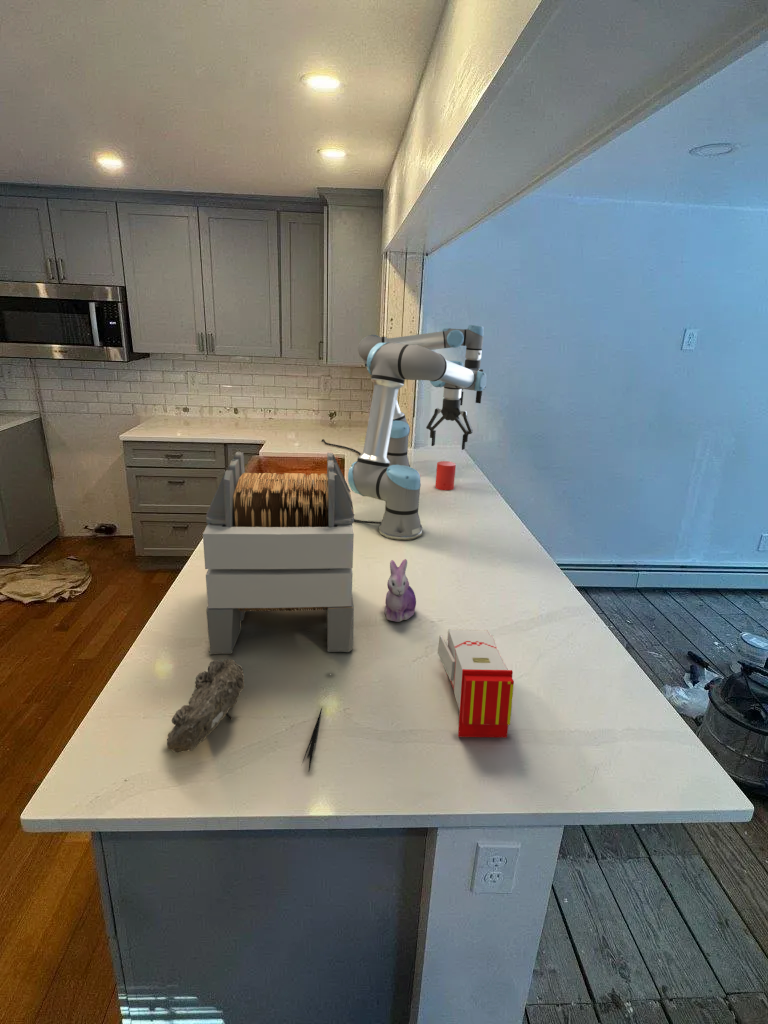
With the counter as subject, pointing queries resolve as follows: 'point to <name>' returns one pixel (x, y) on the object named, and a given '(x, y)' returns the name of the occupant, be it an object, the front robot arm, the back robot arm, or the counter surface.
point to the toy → (478, 682)
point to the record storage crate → (279, 550)
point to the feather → (313, 740)
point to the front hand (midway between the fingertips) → (447, 447)
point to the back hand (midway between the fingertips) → (468, 404)
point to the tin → (445, 475)
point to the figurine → (399, 594)
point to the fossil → (206, 705)
